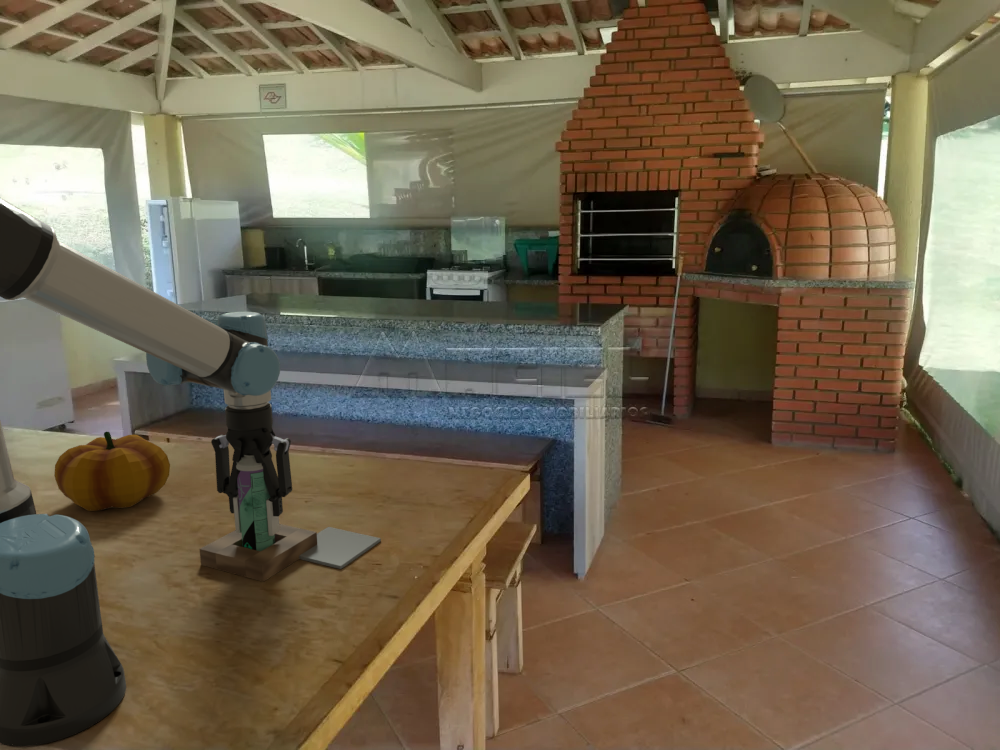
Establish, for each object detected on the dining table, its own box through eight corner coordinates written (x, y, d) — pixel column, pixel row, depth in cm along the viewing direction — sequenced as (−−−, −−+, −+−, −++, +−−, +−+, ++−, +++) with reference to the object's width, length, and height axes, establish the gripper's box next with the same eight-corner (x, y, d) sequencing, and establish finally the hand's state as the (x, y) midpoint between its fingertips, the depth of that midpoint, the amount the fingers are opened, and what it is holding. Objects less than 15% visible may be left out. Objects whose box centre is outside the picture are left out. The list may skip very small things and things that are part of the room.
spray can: (267, 544, 137) (259, 439, 132) (281, 554, 133) (273, 446, 128) (238, 553, 133) (229, 445, 129) (251, 563, 129) (242, 453, 125)
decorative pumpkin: (34, 516, 151) (23, 445, 147) (114, 478, 171) (106, 415, 168) (120, 526, 146) (111, 452, 142) (191, 485, 167) (185, 421, 163)
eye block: (263, 581, 124) (261, 565, 123) (201, 564, 130) (199, 548, 129) (317, 547, 136) (316, 532, 136) (258, 533, 142) (257, 518, 142)
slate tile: (340, 569, 128) (340, 565, 128) (286, 555, 133) (285, 552, 133) (380, 541, 139) (380, 538, 139) (328, 529, 144) (328, 526, 144)
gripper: (185, 407, 125) (197, 536, 130) (289, 411, 122) (298, 544, 127) (209, 396, 132) (220, 519, 137) (308, 400, 129) (316, 526, 134)
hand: (257, 530), depth 132 cm, fingers closed on spray can, 5 cm apart
